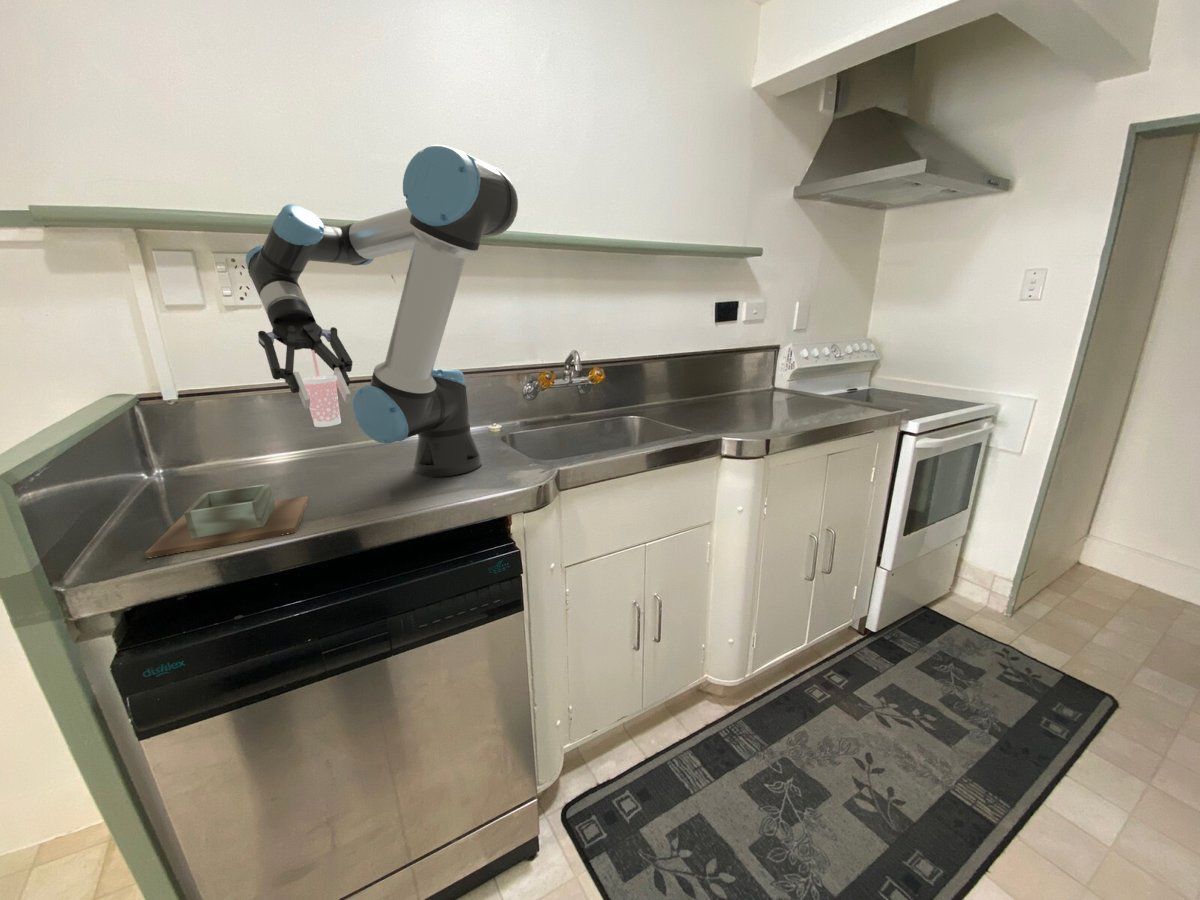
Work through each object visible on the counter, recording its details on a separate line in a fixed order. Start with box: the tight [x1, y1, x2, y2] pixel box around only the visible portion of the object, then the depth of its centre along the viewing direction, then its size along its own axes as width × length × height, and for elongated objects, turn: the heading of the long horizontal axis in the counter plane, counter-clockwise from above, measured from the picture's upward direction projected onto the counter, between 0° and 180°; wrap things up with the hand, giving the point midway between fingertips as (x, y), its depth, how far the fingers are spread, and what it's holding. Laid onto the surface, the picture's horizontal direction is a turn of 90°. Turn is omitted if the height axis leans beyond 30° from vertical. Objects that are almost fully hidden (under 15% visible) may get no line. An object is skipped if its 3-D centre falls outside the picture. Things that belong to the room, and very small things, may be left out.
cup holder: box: [144, 483, 309, 558], centre depth 85 cm, size 20×16×6 cm
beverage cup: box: [301, 349, 342, 428], centre depth 92 cm, size 6×6×14 cm
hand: (328, 400), depth 90 cm, fingers closed on beverage cup, 6 cm apart
